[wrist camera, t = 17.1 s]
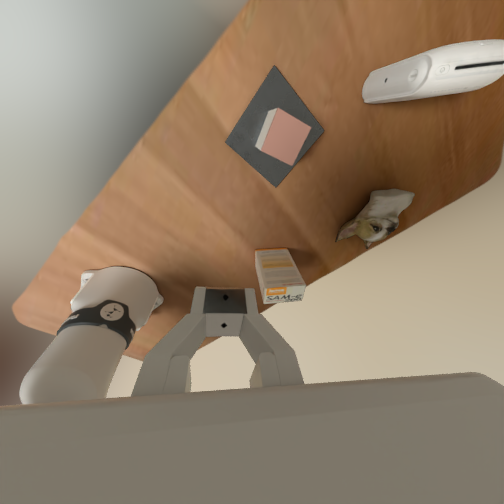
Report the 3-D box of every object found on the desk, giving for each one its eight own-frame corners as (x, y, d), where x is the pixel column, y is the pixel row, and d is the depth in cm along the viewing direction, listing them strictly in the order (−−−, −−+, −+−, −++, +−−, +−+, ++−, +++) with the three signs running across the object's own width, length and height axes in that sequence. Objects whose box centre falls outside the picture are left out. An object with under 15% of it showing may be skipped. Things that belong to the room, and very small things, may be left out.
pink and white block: (281, 159, 32) (292, 166, 27) (255, 146, 31) (261, 150, 25) (296, 126, 30) (311, 127, 24) (268, 110, 28) (278, 107, 23)
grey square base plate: (275, 186, 36) (282, 196, 31) (225, 142, 30) (224, 145, 25) (323, 130, 31) (340, 131, 26) (273, 66, 26) (284, 52, 21)
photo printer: (357, 106, 30) (424, 97, 20) (364, 70, 27) (446, 38, 17) (417, 99, 30) (513, 86, 20) (429, 62, 27) (546, 27, 17)
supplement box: (254, 264, 46) (262, 305, 36) (254, 248, 44) (263, 288, 33) (285, 262, 47) (302, 302, 37) (287, 247, 45) (307, 285, 34)
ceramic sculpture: (443, 204, 32) (383, 265, 41) (406, 187, 39) (362, 242, 47) (398, 188, 29) (345, 257, 38) (367, 173, 36) (328, 234, 45)
